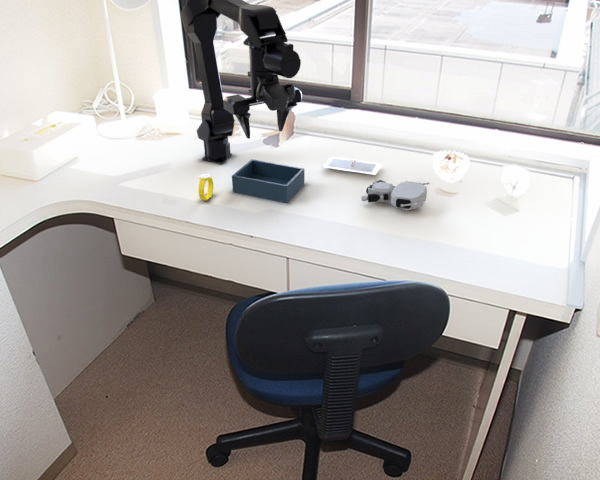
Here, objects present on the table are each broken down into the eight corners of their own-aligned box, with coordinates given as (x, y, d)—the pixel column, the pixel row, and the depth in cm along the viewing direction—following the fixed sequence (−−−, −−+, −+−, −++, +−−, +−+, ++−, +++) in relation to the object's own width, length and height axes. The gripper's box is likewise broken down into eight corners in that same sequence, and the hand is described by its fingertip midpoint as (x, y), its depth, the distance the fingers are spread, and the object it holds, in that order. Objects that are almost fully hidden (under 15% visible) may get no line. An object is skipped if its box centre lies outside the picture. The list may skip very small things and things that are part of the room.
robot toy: (358, 210, 136) (419, 218, 130) (358, 193, 133) (420, 201, 128) (373, 190, 145) (430, 197, 139) (373, 173, 142) (432, 180, 137)
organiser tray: (232, 192, 142) (231, 175, 139) (252, 175, 150) (251, 159, 147) (287, 203, 137) (287, 186, 134) (304, 184, 145) (304, 168, 143)
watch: (207, 204, 136) (205, 182, 133) (197, 202, 137) (194, 180, 134) (216, 193, 141) (214, 172, 137) (206, 192, 142) (204, 170, 138)
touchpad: (375, 178, 148) (376, 171, 147) (322, 170, 152) (322, 163, 151) (381, 167, 154) (382, 160, 153) (330, 159, 158) (330, 152, 157)
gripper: (243, 83, 118) (247, 153, 128) (315, 70, 127) (314, 137, 136) (219, 71, 126) (225, 138, 135) (289, 59, 134) (289, 123, 143)
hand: (264, 134), depth 137 cm, fingers open, 9 cm apart
